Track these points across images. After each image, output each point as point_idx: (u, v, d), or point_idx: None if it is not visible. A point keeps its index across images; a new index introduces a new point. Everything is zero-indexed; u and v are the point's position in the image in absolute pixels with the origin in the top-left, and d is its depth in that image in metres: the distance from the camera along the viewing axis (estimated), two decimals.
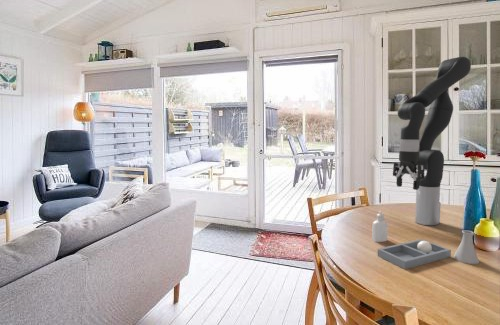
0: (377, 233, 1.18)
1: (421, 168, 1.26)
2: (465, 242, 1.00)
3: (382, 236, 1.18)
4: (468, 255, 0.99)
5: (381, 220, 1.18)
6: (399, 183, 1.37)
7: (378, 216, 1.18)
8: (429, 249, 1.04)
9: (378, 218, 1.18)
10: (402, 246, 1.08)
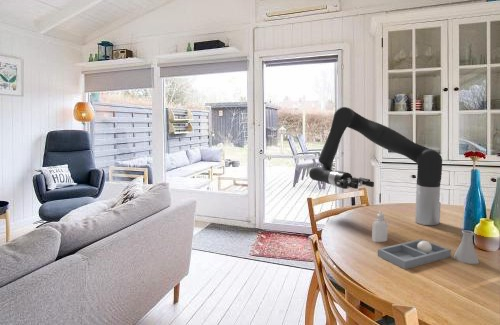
0: (377, 233, 1.18)
1: (338, 184, 1.36)
2: (465, 242, 1.00)
3: (382, 236, 1.18)
4: (468, 255, 0.99)
5: (381, 220, 1.18)
6: (370, 185, 1.33)
7: (378, 216, 1.18)
8: (429, 249, 1.04)
9: (378, 218, 1.18)
10: (402, 246, 1.08)
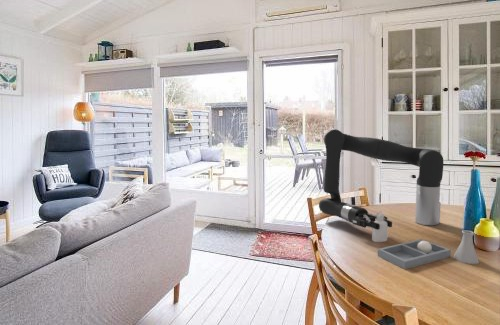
0: (377, 233, 1.18)
1: (354, 222, 1.22)
2: (465, 242, 1.00)
3: (382, 236, 1.18)
4: (468, 255, 0.99)
5: (381, 220, 1.18)
6: None
7: (378, 216, 1.18)
8: (429, 249, 1.04)
9: (378, 218, 1.18)
10: (402, 246, 1.08)
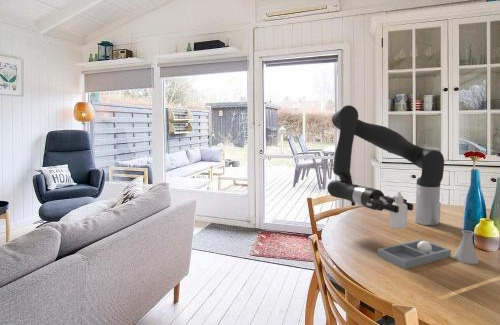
0: (395, 217, 1.02)
1: (369, 205, 1.07)
2: (465, 242, 1.00)
3: (401, 221, 1.02)
4: (468, 255, 0.99)
5: (400, 202, 1.02)
6: None
7: (397, 197, 1.02)
8: (429, 249, 1.04)
9: (397, 200, 1.02)
10: (402, 246, 1.08)
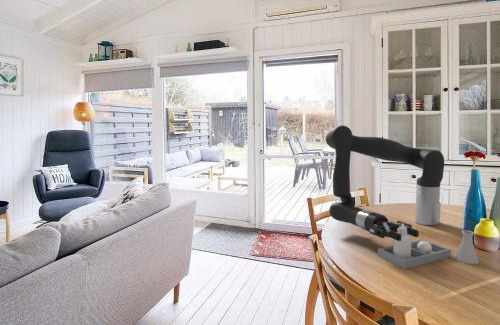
0: (399, 250, 1.01)
1: (372, 231, 1.06)
2: (465, 242, 1.00)
3: (405, 253, 1.01)
4: (468, 255, 0.99)
5: (404, 234, 1.01)
6: (413, 234, 1.02)
7: (401, 229, 1.01)
8: (429, 249, 1.04)
9: (400, 232, 1.01)
10: None
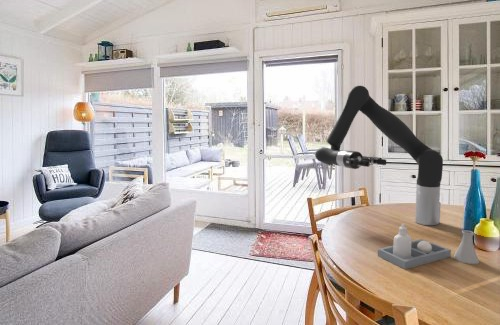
0: (399, 250, 1.01)
1: (347, 162, 1.27)
2: (465, 242, 1.00)
3: (406, 253, 1.01)
4: (468, 255, 0.99)
5: (404, 234, 1.01)
6: (382, 163, 1.24)
7: (401, 229, 1.01)
8: (429, 249, 1.04)
9: (401, 232, 1.01)
10: None
